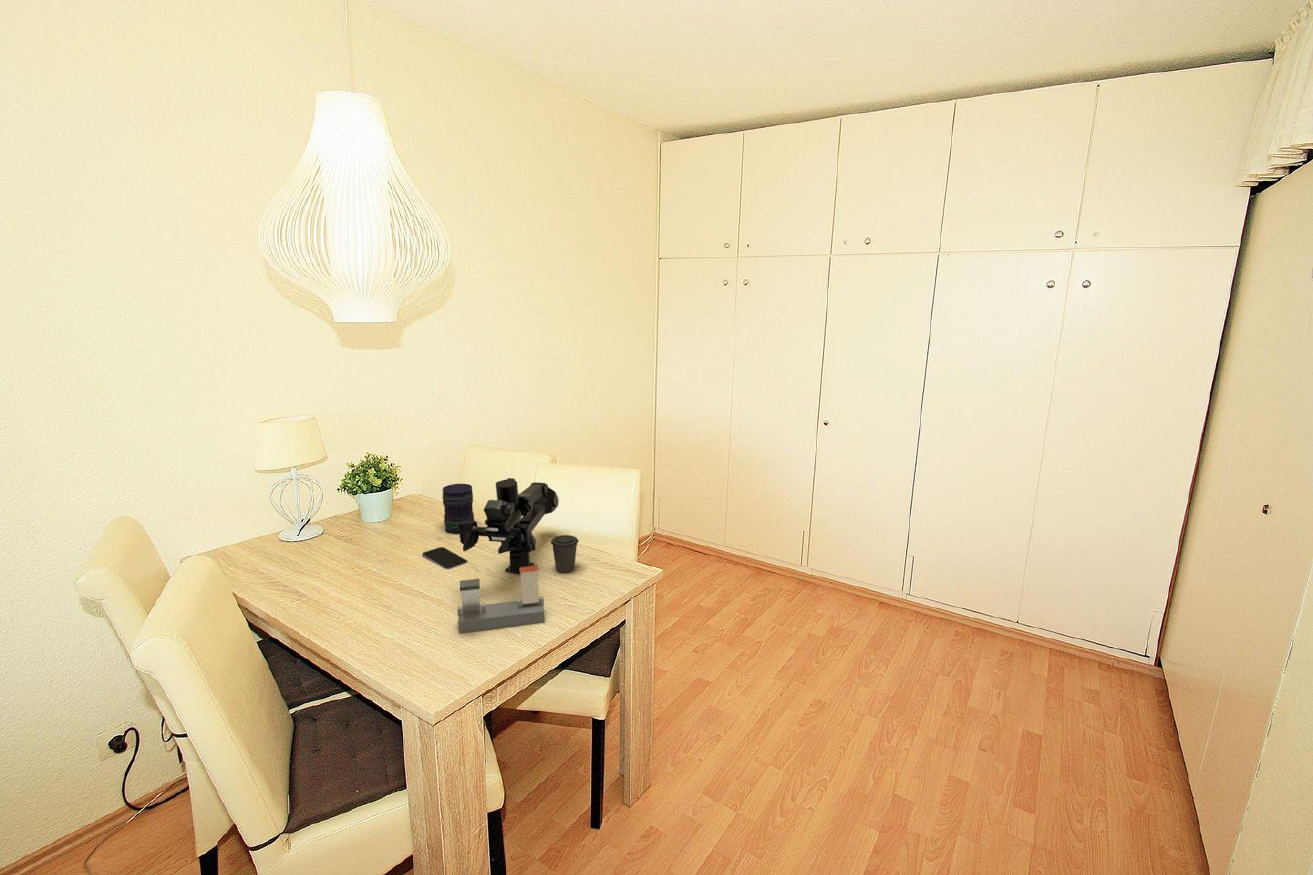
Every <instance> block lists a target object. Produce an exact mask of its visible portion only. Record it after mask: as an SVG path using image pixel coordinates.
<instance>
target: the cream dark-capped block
mask: <svg viewBox="0 0 1313 875" xmlns="http://www.w3.org/2000/svg"><path fill="white" fill-rule="evenodd" d="M480 582H481V581H480V578H474V579H472V578H471V579H463V580H459V592H460V595H461V607H462V610H463V614H465V613H473V612H480V605H481V600H480V597H481V596H480V588H481V587H480Z"/></svg>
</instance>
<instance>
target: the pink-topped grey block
mask: <svg viewBox="0 0 1313 875" xmlns="http://www.w3.org/2000/svg"><path fill="white" fill-rule="evenodd" d="M519 569H520V573H519V574H520V587H521V591H520V592H521V600H522V604H528V603H536V602H539V598H540V595H539V579H538V571H539V565H538V564H534V565H532V566H523V567H519Z"/></svg>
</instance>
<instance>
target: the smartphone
mask: <svg viewBox="0 0 1313 875" xmlns="http://www.w3.org/2000/svg"><path fill="white" fill-rule="evenodd" d="M421 554H422V558H424V559H426V560H429V561H430V562H432V563H434V564H435V565H436V566H439V567H441V568H443V569H445V570H451V569H453V568H457V567H459V566H462V565H465V564H468V560H467V559H465V558H463V557H462V556H460V555H458V554H457V553H454V552H453V551H451V550H449V549H447V548H445V547H443V546H440V547H436V548H433V549H430V550H427V551H424V552H422V553H421Z"/></svg>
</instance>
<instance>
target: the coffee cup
mask: <svg viewBox="0 0 1313 875" xmlns="http://www.w3.org/2000/svg"><path fill="white" fill-rule="evenodd" d="M578 543H579V539H578V538H577V536H574V535H571V534H570V535H569V534H563V535H561V534H560V535H557V536H554V537H553V538H552V539H551V541H550V544H551V545H552V551H553V552H552V553H553V559H554V566H555V571H556V572H557V573H559V574H569V573H573V572H574V571H575V565H576V556H577V555H576V554H577V546H578ZM573 570H574V571H573Z"/></svg>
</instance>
